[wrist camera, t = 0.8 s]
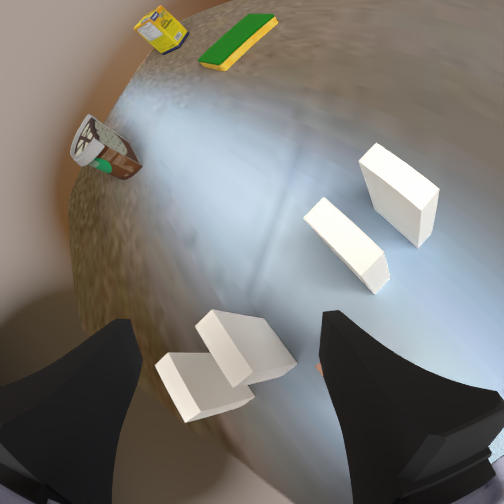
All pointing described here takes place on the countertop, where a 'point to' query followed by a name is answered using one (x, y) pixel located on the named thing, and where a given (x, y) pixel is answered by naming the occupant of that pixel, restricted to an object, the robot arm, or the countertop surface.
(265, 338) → the domino
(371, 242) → the domino
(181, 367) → the domino
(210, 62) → the dish sponge
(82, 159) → the food container
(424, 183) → the domino
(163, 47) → the supplement box
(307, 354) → the countertop surface
